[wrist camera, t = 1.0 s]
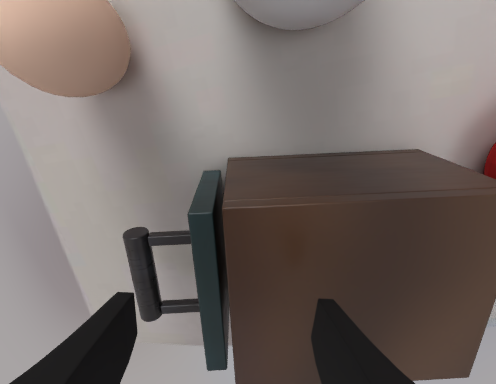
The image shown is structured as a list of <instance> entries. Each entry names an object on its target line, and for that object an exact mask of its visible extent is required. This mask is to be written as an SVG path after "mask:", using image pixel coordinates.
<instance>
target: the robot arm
mask: <svg viewBox="0 0 496 384" xmlns="http://www.w3.org/2000/svg"><path fill="white" fill-rule="evenodd" d="M136 337H137V323H136V312H135V301H134V293H128V292H117V293H116V294H115V295H114V296H113V297H112V298H111V299H109V300H108V301H107V302H106V303H105V304H104V305H103V306H102V307H101V308H100V309H99V310H98V311H97V312H96V313H95V314H93V315H92V316H91V317H90V318H89V319H88V320H87V321H86V322H85V323H84V324H83V325H81V326H80V327H79V328H78V329H77V330H76V331H75V332H74V333H73V334H71V335H70V336H69V337H68V338H67V339H66V340H65V341H63V342H62V343H61V344H60V345H58V346H57V347H56V348H55V349H54V350H52V351H51V352H50V353H49V354H48V355H46V356H45V357H44V358H43V359H42V360H40V361H39V362H38V363H37V364H35V365H34V366H33V367H31V368H30V369H29V370H27V371H26V372H25V373H23V374H22V375H21V376H19V377H18V378H16V379H15V380H14V381H12V382H11V383H10V384H120V382H121V379H122V377H123V374H124V372H125V370H126V367H127V365H128V363H129V360H130V356H131V353H132V350H133V347H134V343H135V340H136ZM311 342H312V348H313V353H314V358H315V363H316V367H317V370H318V374H319V377H320V380H321V383H322V384H415V383H414V382H413V381H412V380H410V379H409V378H408V377H407V376H406V375H405V374H404V373H403V372H401V371H400V370H399V369H398V368H397V367H396V366H395V365H394V364H393V363H392V362H391V361H390V360H389V359H388V358H387V357H386V356H385V355H384V354H383V353H382V352H381V351H380V350H379V349H378V348H377V347H376V346H375V345H374V344H373V343H372V342H371V341H370V340H369V339H368V338H367V336H366V335H365V334H364V333H363V332H362V331H361V330H360V329H359V328H358V327H357V325H356V324H355V323H354V322H353V321H352V320H351V319H350V318H349V316H348V315H347V314H346V313H345V312H344V311H343V309H342V308H341V307H340V306H339V305H338V304H337V303H336V301H335V300H334V299H318V302H317V307H316V312H315V318H314V323H313V328H312V333H311Z"/></svg>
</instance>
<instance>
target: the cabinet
mask: <svg viewBox="0 0 496 384" xmlns="http://www.w3.org/2000/svg"><path fill="white" fill-rule="evenodd" d="M222 216H223V229H224V242H225V254H226V267H227V280H228V293H229V306H230V319H231V332H232V344H233V356H234V370H235V382H236V384H322V383H321V380H320V377H319V374H318V370H317V367H316V363H315V358H314V353H313V348H312V342H311V333H312V328H313V323H314V318H315V312H316V307H317V302H318V299H334V300H335V301H336V303H337V304H338V305H339V306H340V307H341V308H342V309H343V311H344V312H345V313H346V314H347V315H348V316H349V318H350V319H351V320H352V321H353V322H354V323H355V324H356V325H357V327H358V328H359V329H360V330H361V331H362V332H363V333H364V334H365V335H366V336H367V338H368V339H369V340H370V341H371V342H372V343H373V344H374V345H375V346H376V347H377V348H378V349H379V350H380V351H381V352H382V353H383V354H384V355H385V356H386V357H387V358H388V359H389V360H390V361H391V362H392V363H393V364H394V365H395V366H396V367H397V368H398V369H399V370H400V371H401V372H403V373H404V374H405V375H406V376H407V377H408V378H409V379H410V380H412V381H416V380H432V379H450V378H467V377H469V375H470V372H471V369H472V366H473V363H474V360H475V358H476V355H477V352H478V349H479V346H480V343H481V340H482V337H483V334H484V331H485V328H486V325H487V323H488V320H489V317H490V314H491V311H492V308H493V305H494V302H495V299H496V179H493V178H491V177H488V176H486V175H483V174H481V173H478V172H475V171H473V170H470V169H468V168H465V167H462V166H460V165H457V164H455V163H452V162H449V161H447V160H444V159H442V158H439V157H436V156H434V155H431V154H429V153H426V152H423V151H421V150H418V149H415V150H393V151H371V152H349V153H327V154H305V155H283V156H261V157H239V158H228V164H227V172H226V180H225V188H224V196H223V204H222Z"/></svg>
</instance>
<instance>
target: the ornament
mask: <svg viewBox="0 0 496 384" xmlns="http://www.w3.org/2000/svg"><path fill="white" fill-rule="evenodd" d="M484 175H486V176H488V177H491V178H493V179H496V142H495V144H494V145H493V147H492V148H491V150H490V152H489V154H488V156H487V159H486V163H485V168H484Z"/></svg>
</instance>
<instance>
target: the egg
mask: <svg viewBox="0 0 496 384" xmlns="http://www.w3.org/2000/svg"><path fill="white" fill-rule="evenodd" d="M130 50H131V48H130V41H129V37H128V34H127V31H126V28H125V26H124V24H123V22H122V20H121V19H120V17H119V15H118V13H117V12H116V10H115V9H114V8H113V7H112V6H111V5H110V4H109V2H108V1H107V0H0V64H1V65H2V66H3V67H4V68H5V69H6V70H7V71H8V72H10V73H11V74H12V75H14V76H16V77H17V78H19V79H21V80H22V81H24V82H26V83H27V84H29V85H31V86H33V87H35V88H37V89H39V90H41V91H44V92H47V93H51V94H54V95H60V96H65V97H87V96H93V95H97V94H100V93H103V92H105V91H107V90H109V89H111V88H112V87H113V86H114V85H115V84H117V83H118V82H119V81H120V80H121V78H122V77H123V75H124V74H125V72H126V70H127V67H128V64H129V61H130Z"/></svg>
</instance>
